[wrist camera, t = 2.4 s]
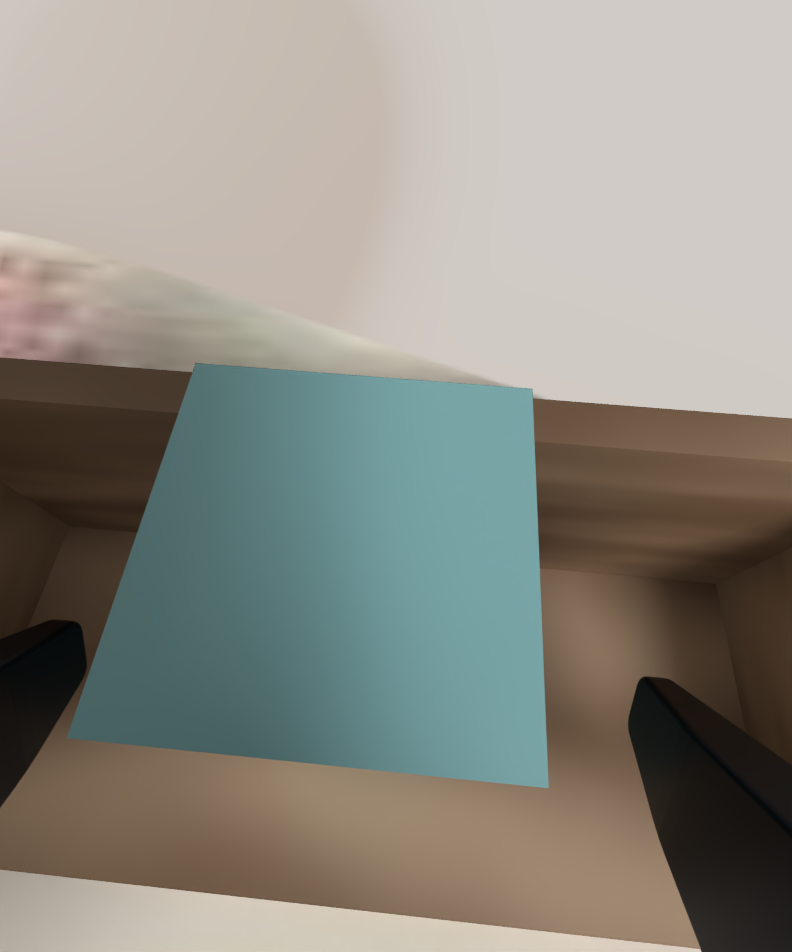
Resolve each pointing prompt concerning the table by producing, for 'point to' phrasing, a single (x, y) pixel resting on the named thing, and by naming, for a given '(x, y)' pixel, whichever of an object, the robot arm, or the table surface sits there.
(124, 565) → the open box
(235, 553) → the pillar block
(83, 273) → the table surface
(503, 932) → the table surface
